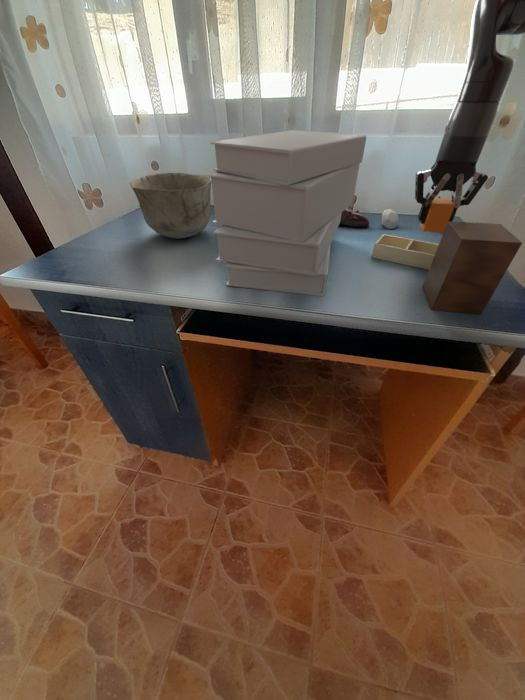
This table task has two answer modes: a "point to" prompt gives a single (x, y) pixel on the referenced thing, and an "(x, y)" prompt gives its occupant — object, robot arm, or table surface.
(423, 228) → the orange rectangular block
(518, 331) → the table surface
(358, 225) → the brown shoe
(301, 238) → the book stack
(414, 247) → the divided box
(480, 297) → the stand
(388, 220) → the gemstone
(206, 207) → the bowl
